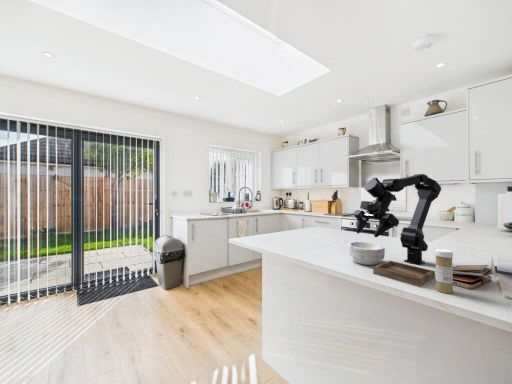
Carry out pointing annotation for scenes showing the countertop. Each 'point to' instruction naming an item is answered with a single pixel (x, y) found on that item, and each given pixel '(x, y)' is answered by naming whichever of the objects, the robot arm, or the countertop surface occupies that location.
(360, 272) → the countertop surface
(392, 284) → the countertop surface
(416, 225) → the robot arm
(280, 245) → the countertop surface
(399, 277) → the walnut tray
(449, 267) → the sprinkles bottle
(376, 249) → the paper bowls
